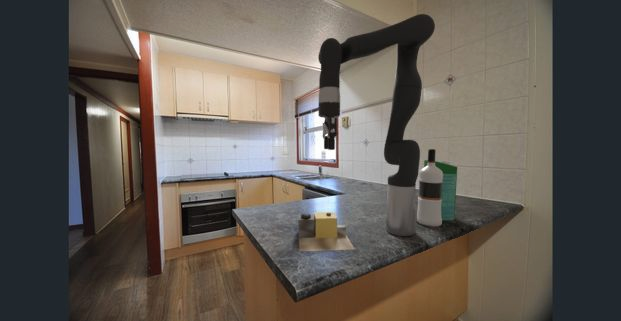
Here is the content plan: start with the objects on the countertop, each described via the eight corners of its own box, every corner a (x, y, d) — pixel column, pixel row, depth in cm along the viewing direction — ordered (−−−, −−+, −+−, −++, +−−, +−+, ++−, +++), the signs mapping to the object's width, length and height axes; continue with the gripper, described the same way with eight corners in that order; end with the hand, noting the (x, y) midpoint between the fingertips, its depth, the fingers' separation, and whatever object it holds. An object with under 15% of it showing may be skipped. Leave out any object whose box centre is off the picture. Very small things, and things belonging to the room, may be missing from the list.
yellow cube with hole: (333, 229, 74) (333, 210, 73) (337, 237, 67) (337, 216, 67) (313, 230, 73) (313, 210, 72) (315, 238, 67) (315, 216, 66)
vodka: (410, 221, 86) (413, 148, 84) (424, 217, 90) (428, 148, 88) (432, 229, 78) (436, 149, 76) (447, 225, 82) (451, 149, 80)
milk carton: (454, 220, 87) (457, 161, 85) (432, 220, 87) (435, 161, 85) (441, 213, 96) (444, 159, 94) (421, 213, 96) (424, 159, 94)
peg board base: (341, 230, 76) (342, 209, 75) (354, 253, 60) (355, 226, 59) (298, 232, 74) (298, 210, 74) (299, 255, 58) (299, 228, 58)
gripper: (316, 106, 79) (316, 149, 80) (321, 98, 64) (321, 150, 66) (335, 106, 79) (335, 149, 80) (345, 98, 65) (344, 150, 66)
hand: (329, 149), depth 73 cm, fingers open, 8 cm apart
